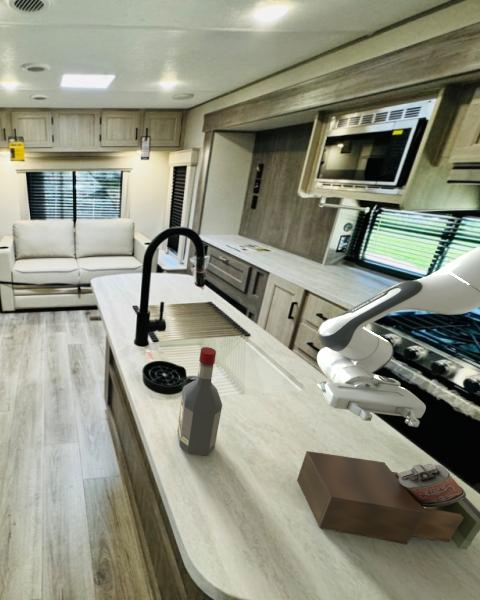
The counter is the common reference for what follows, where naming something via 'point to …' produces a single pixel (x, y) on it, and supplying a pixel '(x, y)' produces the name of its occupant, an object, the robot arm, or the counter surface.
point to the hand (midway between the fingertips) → (391, 421)
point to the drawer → (449, 522)
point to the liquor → (200, 409)
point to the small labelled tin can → (431, 485)
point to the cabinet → (358, 497)
